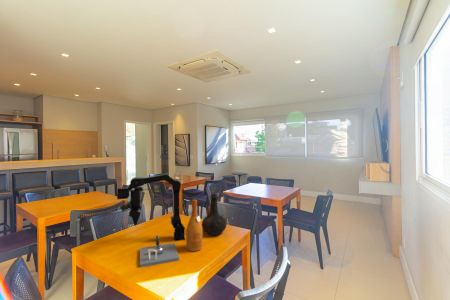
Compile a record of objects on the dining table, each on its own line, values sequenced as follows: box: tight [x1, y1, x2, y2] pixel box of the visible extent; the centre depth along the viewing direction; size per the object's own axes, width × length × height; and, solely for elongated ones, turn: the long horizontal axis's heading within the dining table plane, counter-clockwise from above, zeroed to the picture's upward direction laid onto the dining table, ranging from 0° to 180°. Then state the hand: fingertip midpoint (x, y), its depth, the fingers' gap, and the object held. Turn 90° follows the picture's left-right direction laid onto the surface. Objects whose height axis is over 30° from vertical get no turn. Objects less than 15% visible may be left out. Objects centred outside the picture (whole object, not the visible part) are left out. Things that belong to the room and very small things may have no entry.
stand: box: [139, 242, 180, 268], centre depth 128 cm, size 20×20×7 cm
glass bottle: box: [201, 193, 228, 236], centre depth 161 cm, size 18×18×28 cm
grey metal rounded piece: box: [147, 235, 163, 254], centre depth 130 cm, size 9×11×6 cm
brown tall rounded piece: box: [185, 199, 203, 252], centre depth 136 cm, size 10×10×30 cm
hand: (135, 222), depth 140 cm, fingers open, 9 cm apart
